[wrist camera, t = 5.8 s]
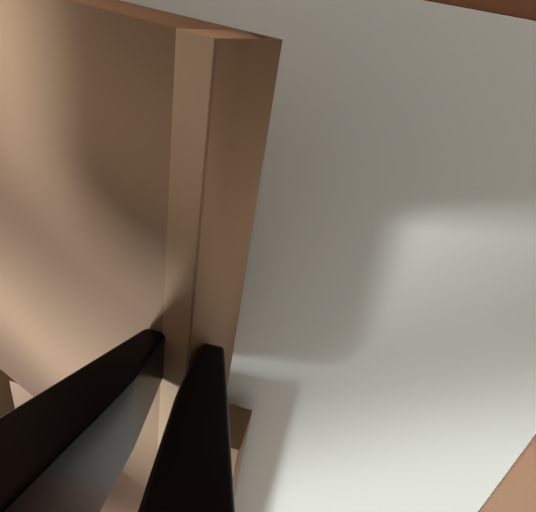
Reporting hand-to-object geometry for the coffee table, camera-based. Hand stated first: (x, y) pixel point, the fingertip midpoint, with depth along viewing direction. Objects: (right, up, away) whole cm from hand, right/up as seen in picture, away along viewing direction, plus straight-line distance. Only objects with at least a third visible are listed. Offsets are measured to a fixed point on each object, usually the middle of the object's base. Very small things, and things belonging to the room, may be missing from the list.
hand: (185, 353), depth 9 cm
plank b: (-2, +2, +2) cm, 4 cm away
